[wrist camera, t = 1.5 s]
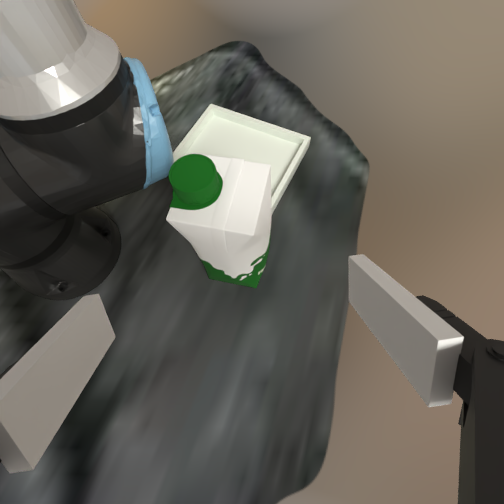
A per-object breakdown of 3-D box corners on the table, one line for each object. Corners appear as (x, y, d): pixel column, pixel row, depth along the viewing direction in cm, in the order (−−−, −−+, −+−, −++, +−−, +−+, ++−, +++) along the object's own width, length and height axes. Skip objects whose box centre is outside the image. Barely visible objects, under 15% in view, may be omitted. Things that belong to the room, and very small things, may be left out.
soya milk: (217, 231, 43) (181, 129, 24) (273, 241, 42) (281, 142, 23) (201, 283, 39) (146, 212, 21) (262, 296, 38) (260, 232, 20)
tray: (167, 174, 47) (162, 165, 45) (212, 113, 53) (210, 103, 51) (270, 217, 43) (270, 209, 41) (308, 146, 49) (310, 137, 46)
